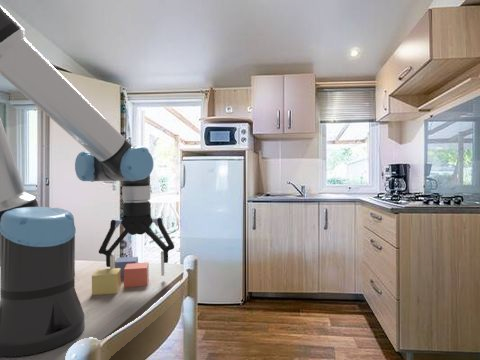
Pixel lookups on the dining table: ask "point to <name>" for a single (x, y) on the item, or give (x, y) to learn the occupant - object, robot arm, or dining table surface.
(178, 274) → the dining table surface
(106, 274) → the mustard brick
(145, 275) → the red brick
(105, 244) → the robot arm
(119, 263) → the blue cube
